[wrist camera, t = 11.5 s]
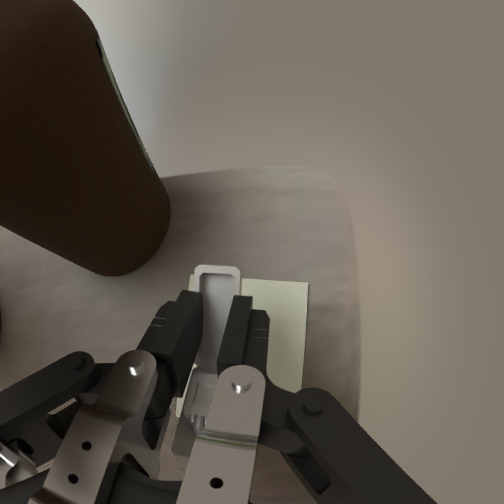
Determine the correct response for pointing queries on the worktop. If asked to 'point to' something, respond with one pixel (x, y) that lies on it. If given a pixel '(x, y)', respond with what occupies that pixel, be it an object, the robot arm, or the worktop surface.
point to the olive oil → (72, 144)
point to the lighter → (206, 352)
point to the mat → (277, 329)
